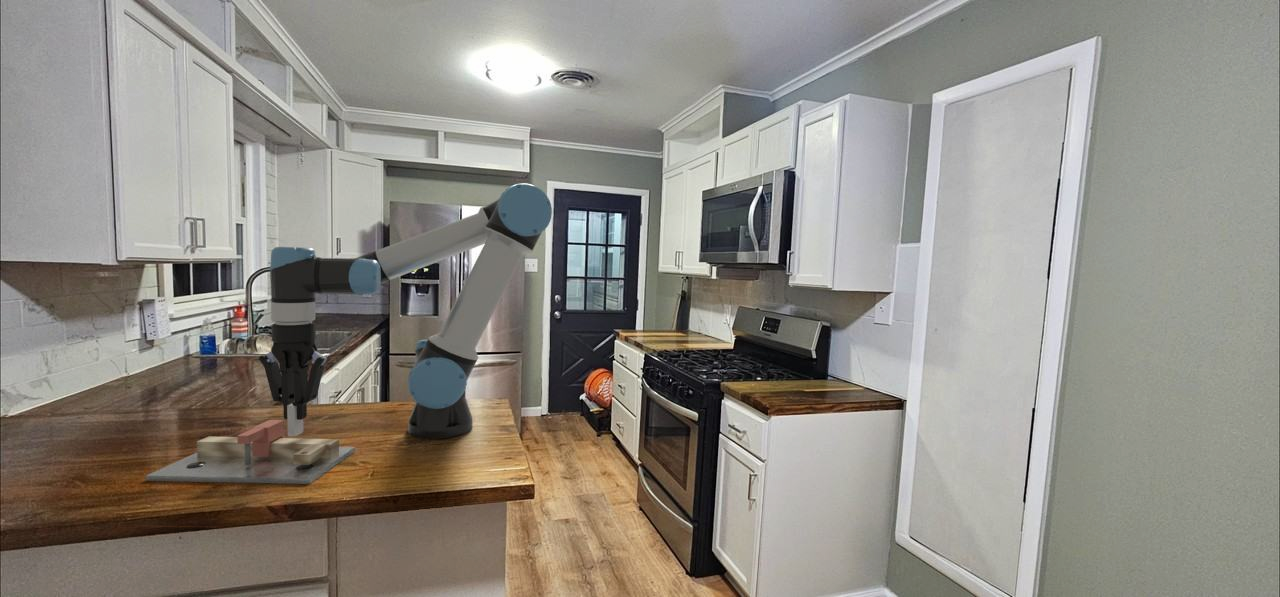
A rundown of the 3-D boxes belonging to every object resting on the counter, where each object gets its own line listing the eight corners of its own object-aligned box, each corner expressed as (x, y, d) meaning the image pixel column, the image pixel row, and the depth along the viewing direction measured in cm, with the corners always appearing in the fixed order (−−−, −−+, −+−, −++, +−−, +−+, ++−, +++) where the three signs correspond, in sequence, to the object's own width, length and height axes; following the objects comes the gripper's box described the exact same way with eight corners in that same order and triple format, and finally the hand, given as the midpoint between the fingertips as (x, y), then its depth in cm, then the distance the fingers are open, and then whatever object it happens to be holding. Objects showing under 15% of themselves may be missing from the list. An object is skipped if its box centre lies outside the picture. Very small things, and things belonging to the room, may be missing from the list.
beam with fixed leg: (339, 453, 107) (338, 439, 107) (314, 469, 99) (314, 455, 99) (209, 450, 106) (208, 436, 106) (173, 466, 98) (172, 451, 98)
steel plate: (355, 451, 111) (354, 446, 111) (309, 483, 95) (309, 478, 95) (215, 448, 110) (215, 443, 110) (146, 480, 94) (145, 474, 94)
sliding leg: (285, 447, 108) (284, 419, 108) (251, 466, 98) (250, 436, 98) (271, 447, 108) (270, 419, 108) (235, 466, 98) (234, 435, 98)
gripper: (336, 321, 107) (337, 428, 109) (274, 318, 107) (276, 427, 109) (315, 325, 100) (316, 441, 102) (247, 323, 99) (250, 439, 101)
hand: (295, 434), depth 105 cm, fingers closed
